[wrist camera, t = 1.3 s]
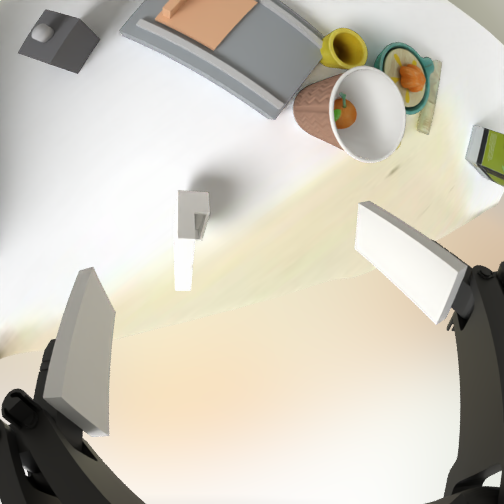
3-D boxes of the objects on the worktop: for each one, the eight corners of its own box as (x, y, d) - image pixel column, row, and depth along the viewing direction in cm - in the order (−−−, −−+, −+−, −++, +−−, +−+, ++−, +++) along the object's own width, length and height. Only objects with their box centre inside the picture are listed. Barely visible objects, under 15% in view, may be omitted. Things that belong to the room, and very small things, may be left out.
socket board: (122, 35, 21) (118, 28, 18) (193, -38, 17) (196, -49, 14) (267, 118, 32) (277, 120, 29) (323, 47, 28) (336, 43, 25)
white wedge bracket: (171, 253, 37) (175, 290, 30) (177, 184, 33) (180, 207, 25) (197, 253, 38) (206, 290, 31) (205, 185, 34) (217, 209, 27)
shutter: (155, 20, 19) (154, 10, 16) (200, -26, 17) (205, -38, 14) (213, 50, 23) (219, 44, 20) (255, 4, 21) (265, -5, 18)
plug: (50, 62, 19) (8, 50, 10) (71, 29, 17) (38, 4, 8) (77, 73, 21) (41, 61, 12) (100, 39, 20) (73, 12, 11)
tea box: (490, 146, 47) (531, 164, 35) (482, 177, 51) (522, 198, 39) (472, 123, 41) (521, 140, 29) (463, 158, 46) (512, 181, 33)
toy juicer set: (317, 154, 36) (349, 167, 29) (305, 33, 26) (337, 20, 20) (435, 146, 41) (465, 157, 35) (433, 60, 31) (465, 62, 25)
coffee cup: (345, 145, 36) (403, 163, 26) (281, 147, 33) (329, 164, 23) (345, 79, 31) (406, 76, 21) (278, 72, 28) (328, 57, 18)
